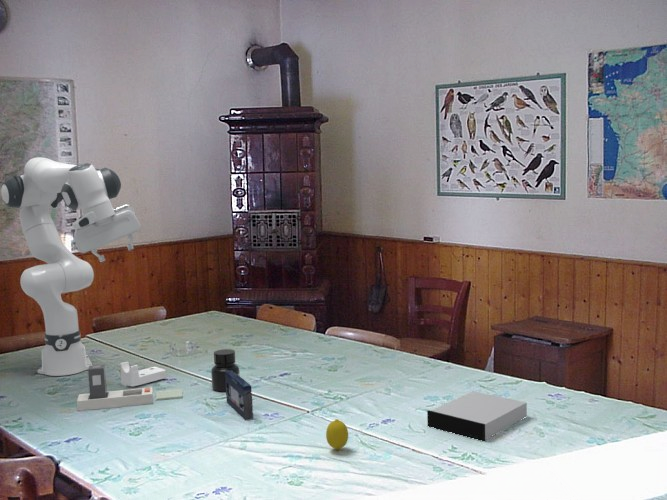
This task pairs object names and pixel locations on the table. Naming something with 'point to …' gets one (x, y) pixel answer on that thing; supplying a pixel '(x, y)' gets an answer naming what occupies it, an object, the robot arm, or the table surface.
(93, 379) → the grey square pillar
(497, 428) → the disc drive
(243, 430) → the table surface
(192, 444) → the table surface
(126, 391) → the power strip
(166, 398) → the felt pad
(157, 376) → the bracket
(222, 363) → the ink bottle
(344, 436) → the lemon
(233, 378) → the vhs cassette tape
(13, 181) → the robot arm
